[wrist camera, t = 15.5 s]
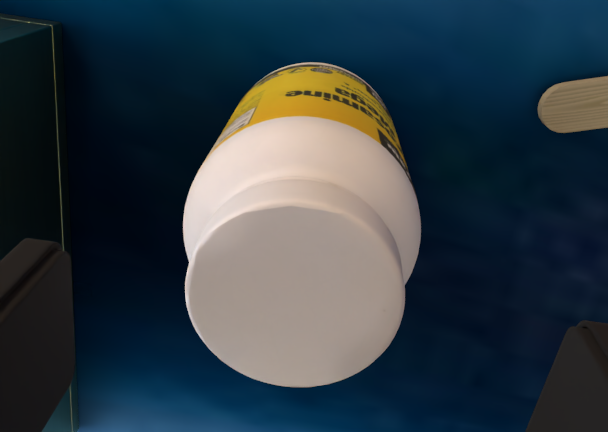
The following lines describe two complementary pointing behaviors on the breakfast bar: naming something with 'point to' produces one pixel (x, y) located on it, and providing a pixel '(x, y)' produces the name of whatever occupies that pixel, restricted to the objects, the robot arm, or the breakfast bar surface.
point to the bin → (35, 154)
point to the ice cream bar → (575, 105)
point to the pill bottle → (302, 230)
